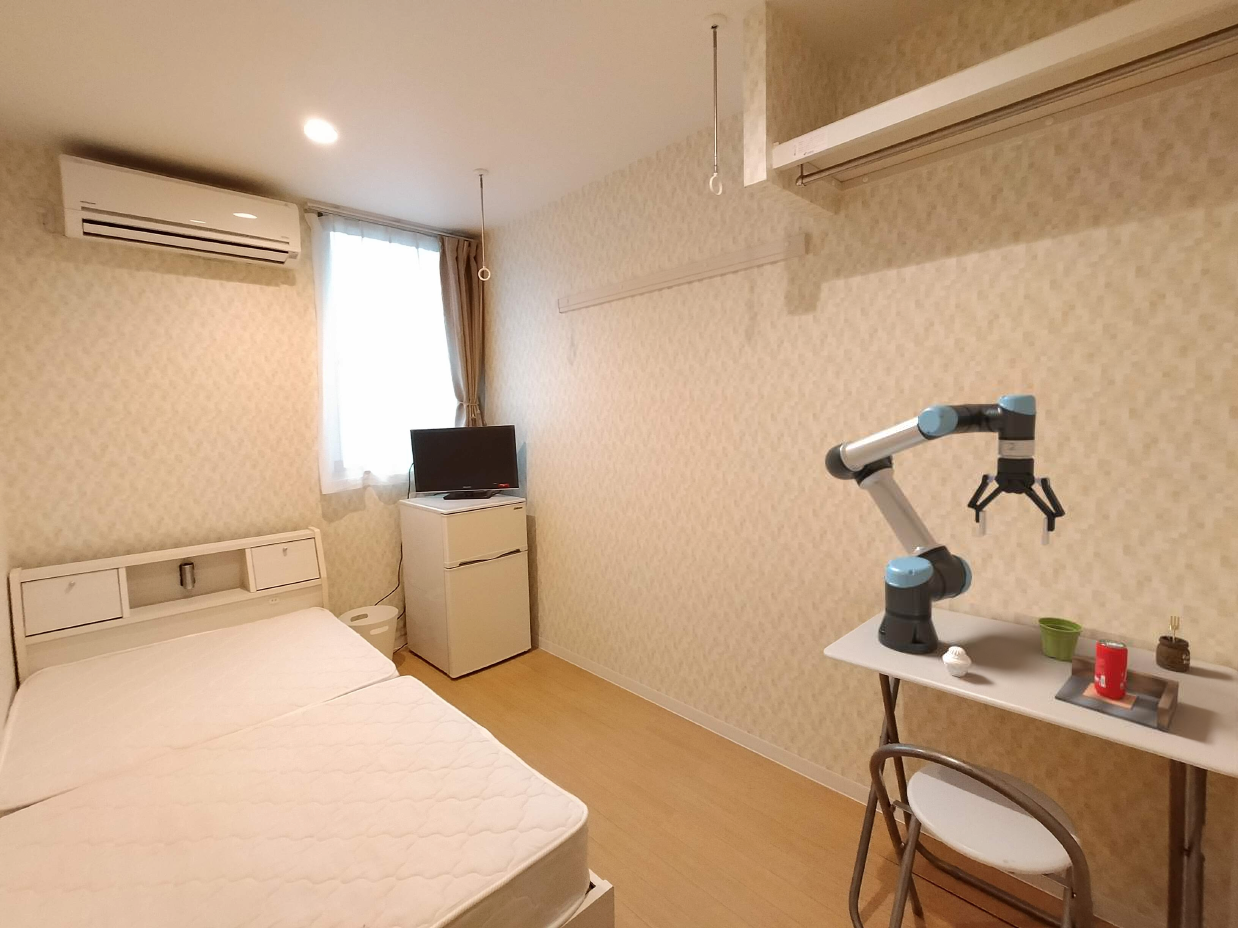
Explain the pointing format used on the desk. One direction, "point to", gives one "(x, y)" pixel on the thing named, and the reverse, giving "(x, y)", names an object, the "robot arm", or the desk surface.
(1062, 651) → the plant pot
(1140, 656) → the desk surface
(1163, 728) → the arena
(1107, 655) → the beverage can
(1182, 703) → the desk surface
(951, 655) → the muffin
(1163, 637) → the utensil holder
